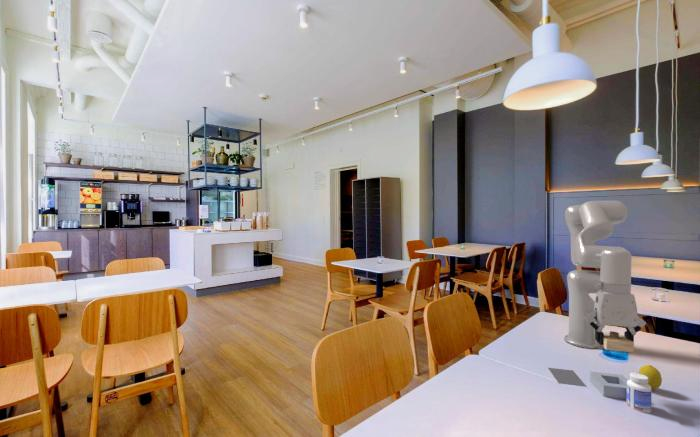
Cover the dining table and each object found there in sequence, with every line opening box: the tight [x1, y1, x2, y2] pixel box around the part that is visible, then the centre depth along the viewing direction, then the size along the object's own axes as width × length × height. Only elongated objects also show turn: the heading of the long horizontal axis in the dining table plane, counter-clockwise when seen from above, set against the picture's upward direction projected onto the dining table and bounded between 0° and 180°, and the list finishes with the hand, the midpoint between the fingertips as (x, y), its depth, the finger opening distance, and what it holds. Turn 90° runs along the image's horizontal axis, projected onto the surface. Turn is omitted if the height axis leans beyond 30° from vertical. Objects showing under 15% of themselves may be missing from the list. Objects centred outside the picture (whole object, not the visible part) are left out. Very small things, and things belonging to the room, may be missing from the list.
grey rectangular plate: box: [547, 367, 587, 388], centre depth 111 cm, size 11×8×1 cm
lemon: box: [638, 364, 663, 390], centre depth 104 cm, size 6×6×8 cm
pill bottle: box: [625, 372, 653, 414], centre depth 94 cm, size 5×5×10 cm
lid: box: [596, 330, 635, 353], centre depth 102 cm, size 7×7×4 cm
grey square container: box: [589, 371, 629, 400], centre depth 103 cm, size 9×9×4 cm
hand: (613, 344), depth 102 cm, fingers closed on lid, 7 cm apart
